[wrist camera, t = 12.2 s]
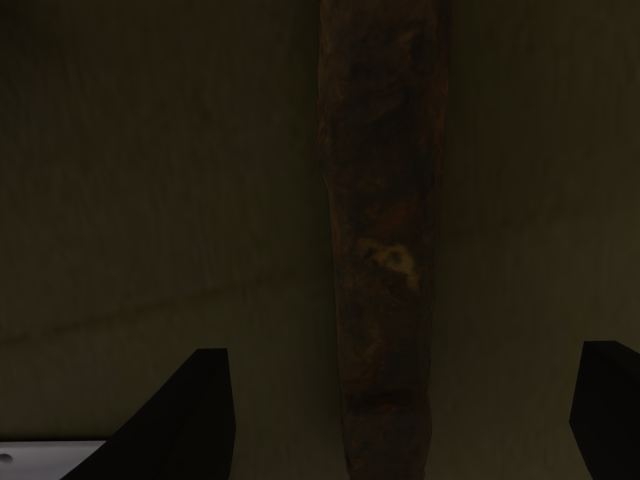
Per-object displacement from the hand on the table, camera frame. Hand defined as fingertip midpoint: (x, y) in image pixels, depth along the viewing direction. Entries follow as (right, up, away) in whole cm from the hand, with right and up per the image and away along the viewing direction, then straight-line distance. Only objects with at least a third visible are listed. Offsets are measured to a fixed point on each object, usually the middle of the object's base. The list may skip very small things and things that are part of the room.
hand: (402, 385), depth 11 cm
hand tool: (+1, +3, +7) cm, 7 cm away
